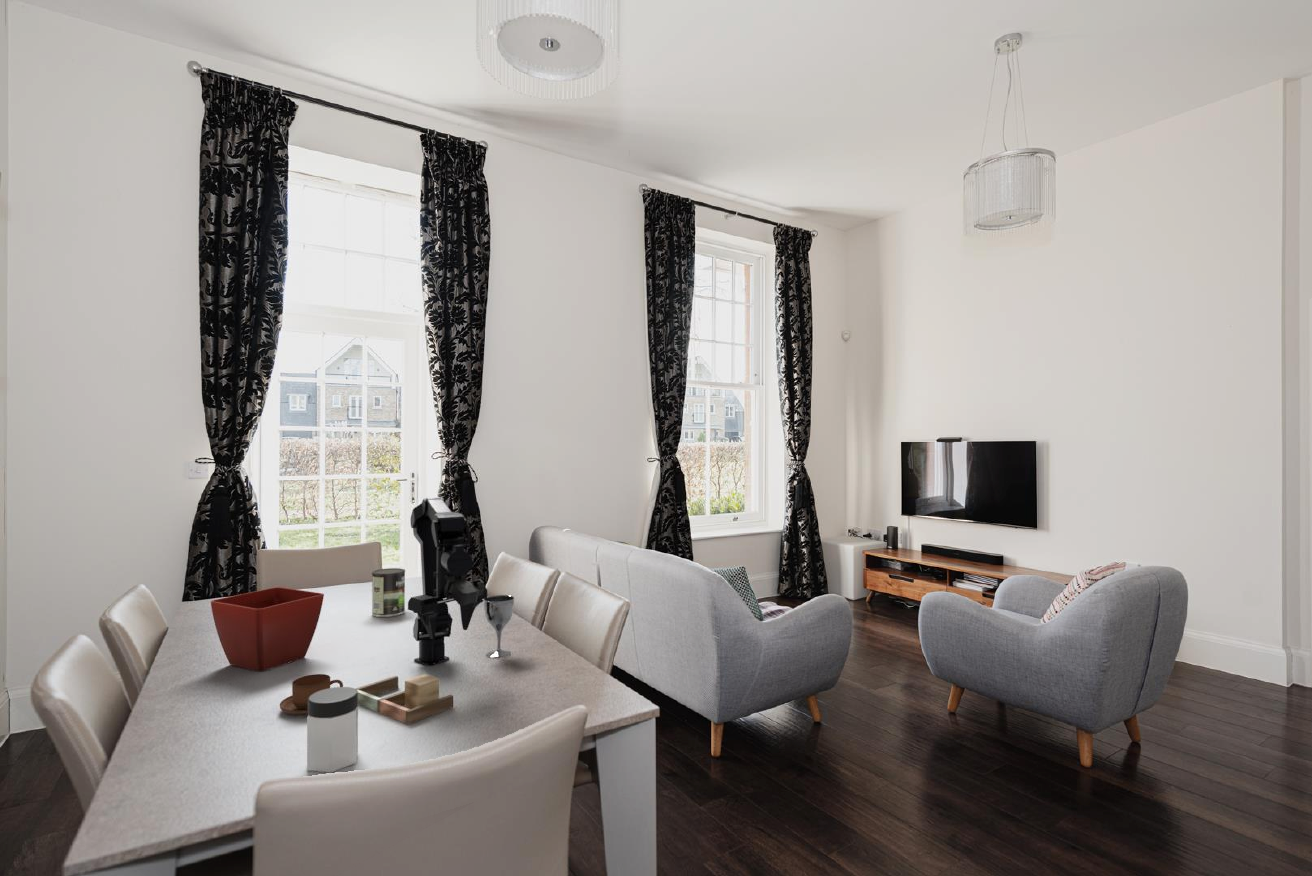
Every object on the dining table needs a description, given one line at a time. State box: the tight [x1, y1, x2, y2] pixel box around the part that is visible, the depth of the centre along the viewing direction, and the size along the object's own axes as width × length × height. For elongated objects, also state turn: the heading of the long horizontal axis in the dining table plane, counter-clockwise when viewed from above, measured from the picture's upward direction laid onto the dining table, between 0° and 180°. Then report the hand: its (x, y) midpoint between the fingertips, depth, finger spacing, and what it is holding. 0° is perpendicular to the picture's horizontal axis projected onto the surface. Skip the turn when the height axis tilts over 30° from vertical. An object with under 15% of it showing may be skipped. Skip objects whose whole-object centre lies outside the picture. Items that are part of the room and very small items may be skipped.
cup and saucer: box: [279, 673, 344, 716], centre depth 147 cm, size 12×12×6 cm
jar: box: [306, 686, 359, 773], centre depth 122 cm, size 9×8×12 cm
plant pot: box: [210, 586, 325, 672], centre depth 178 cm, size 19×19×17 cm
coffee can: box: [371, 567, 406, 618], centre depth 227 cm, size 10×10×14 cm
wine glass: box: [483, 594, 515, 659], centre depth 184 cm, size 8×8×15 cm
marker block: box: [404, 673, 440, 709], centre depth 147 cm, size 5×5×6 cm
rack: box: [355, 675, 454, 725], centre depth 149 cm, size 21×11×2 cm, turn 54°
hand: (449, 634), depth 161 cm, fingers open, 9 cm apart
